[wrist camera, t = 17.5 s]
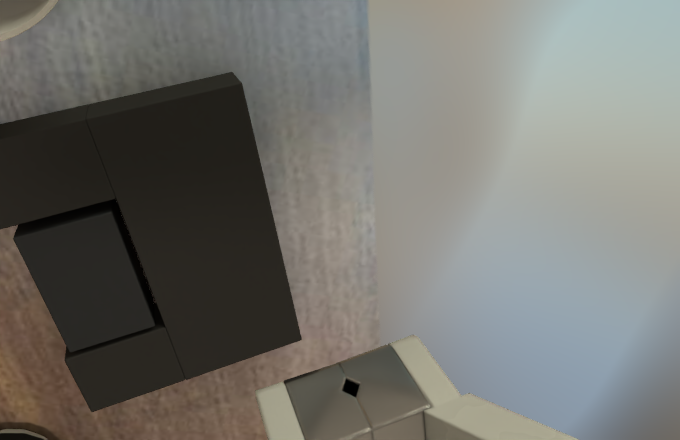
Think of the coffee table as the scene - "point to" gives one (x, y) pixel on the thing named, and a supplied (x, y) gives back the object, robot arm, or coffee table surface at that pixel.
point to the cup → (21, 15)
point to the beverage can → (19, 435)
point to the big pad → (164, 226)
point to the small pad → (87, 274)
